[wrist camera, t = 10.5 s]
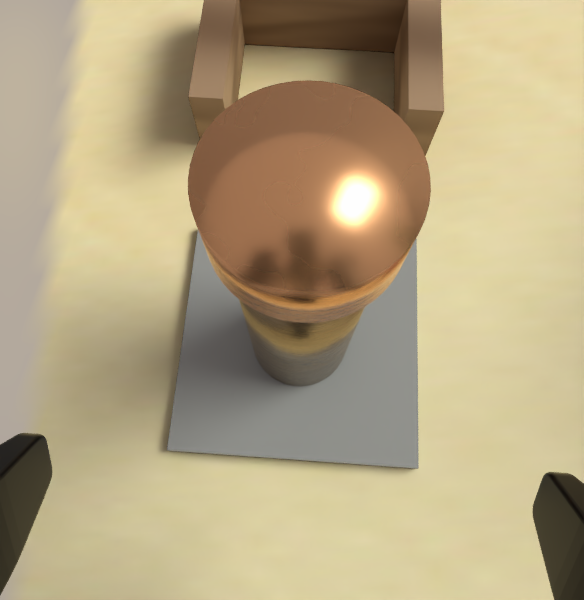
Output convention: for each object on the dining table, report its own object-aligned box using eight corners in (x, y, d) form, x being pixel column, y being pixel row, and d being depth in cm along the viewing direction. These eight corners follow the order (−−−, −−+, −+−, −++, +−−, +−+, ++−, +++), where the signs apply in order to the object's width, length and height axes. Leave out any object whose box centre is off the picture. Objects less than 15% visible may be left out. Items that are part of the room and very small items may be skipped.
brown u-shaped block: (424, 158, 25) (443, 111, 22) (201, 145, 26) (188, 96, 22) (422, 31, 28) (439, -28, 25) (220, 21, 28) (210, -40, 25)
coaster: (416, 468, 21) (418, 468, 20) (169, 450, 21) (166, 450, 21) (414, 242, 24) (416, 238, 24) (200, 228, 24) (198, 225, 24)
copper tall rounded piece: (300, 420, 21) (312, 344, 9) (219, 340, 22) (137, 179, 10) (379, 338, 22) (479, 177, 10) (298, 265, 23) (306, 43, 11)
